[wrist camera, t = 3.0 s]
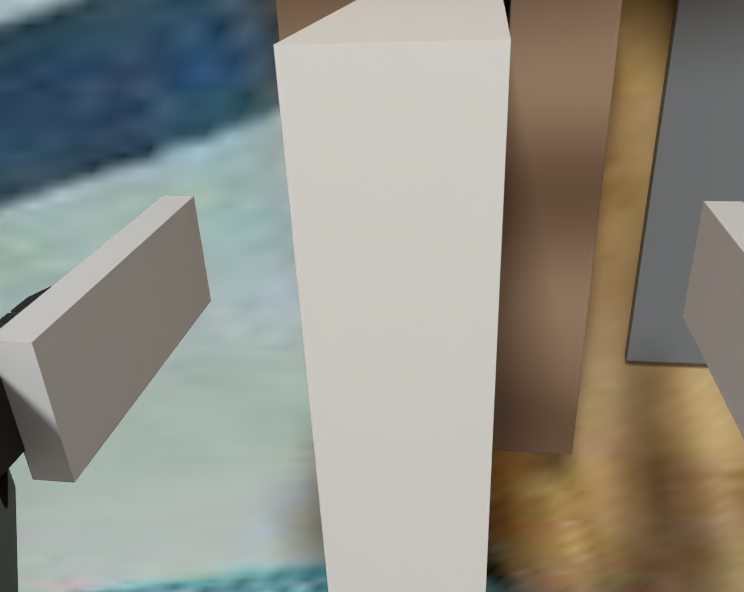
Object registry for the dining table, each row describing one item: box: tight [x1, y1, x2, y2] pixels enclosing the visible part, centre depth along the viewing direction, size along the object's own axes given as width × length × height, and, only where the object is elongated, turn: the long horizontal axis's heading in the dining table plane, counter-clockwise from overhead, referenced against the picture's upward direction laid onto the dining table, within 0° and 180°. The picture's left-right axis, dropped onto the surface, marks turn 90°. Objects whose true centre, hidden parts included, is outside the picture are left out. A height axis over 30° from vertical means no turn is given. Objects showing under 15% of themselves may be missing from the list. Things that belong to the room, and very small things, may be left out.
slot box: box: [276, 0, 622, 455], centre depth 21 cm, size 16×8×6 cm, turn 2°
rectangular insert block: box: [274, 0, 511, 592], centre depth 16 cm, size 11×2×15 cm, turn 2°
